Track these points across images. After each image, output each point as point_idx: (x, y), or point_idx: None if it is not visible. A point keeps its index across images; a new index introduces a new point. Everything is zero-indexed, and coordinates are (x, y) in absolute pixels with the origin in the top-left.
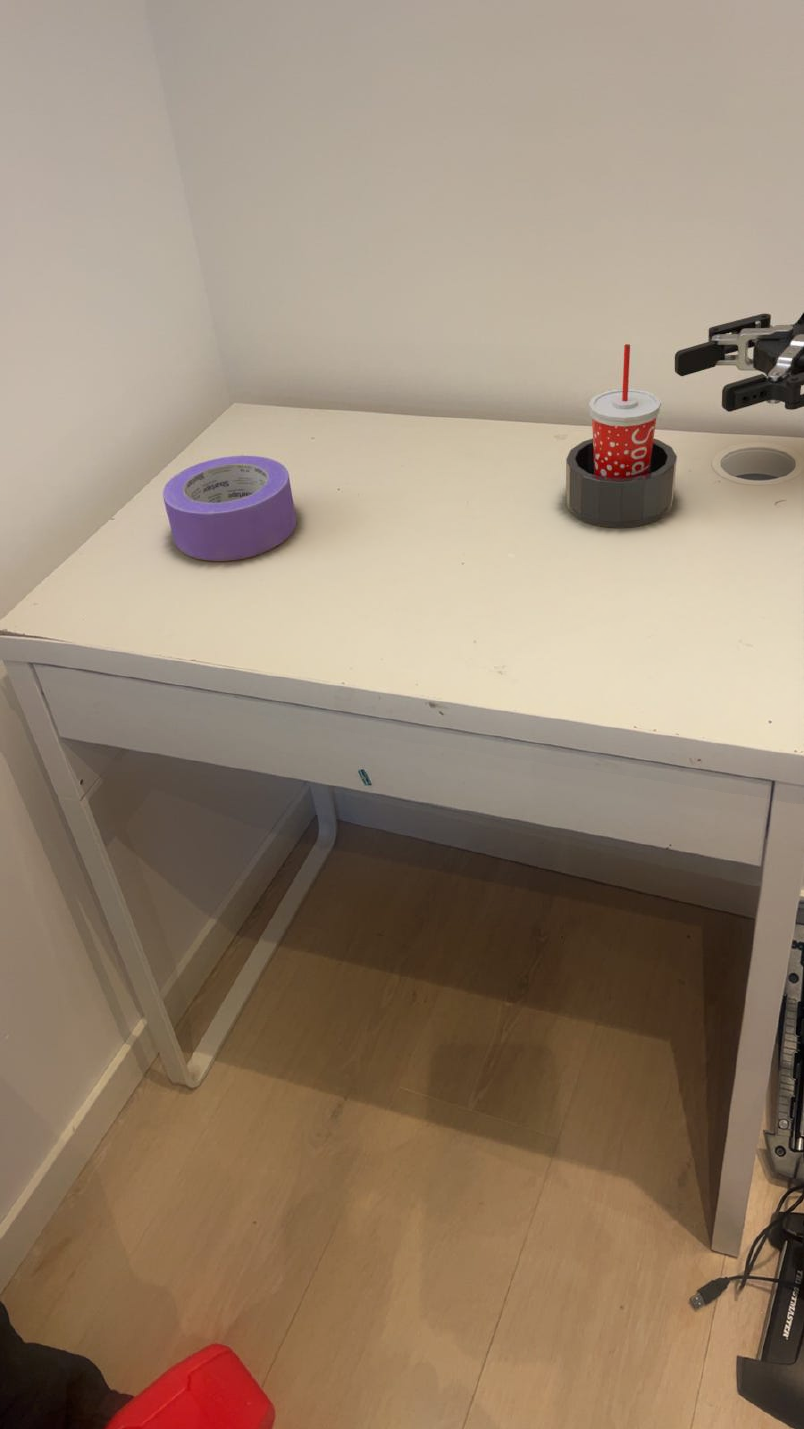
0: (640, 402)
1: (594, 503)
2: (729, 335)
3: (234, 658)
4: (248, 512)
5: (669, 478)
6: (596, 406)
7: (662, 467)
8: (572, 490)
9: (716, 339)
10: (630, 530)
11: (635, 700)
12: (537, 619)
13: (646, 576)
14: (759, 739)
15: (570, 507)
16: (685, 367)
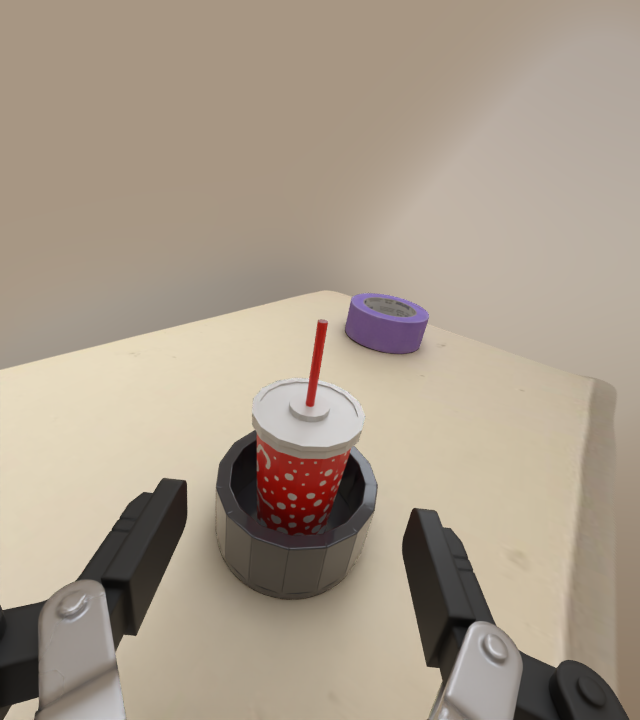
0: (300, 423)
1: None
2: (500, 699)
3: (253, 310)
4: (351, 306)
5: (222, 517)
6: (322, 387)
7: (232, 497)
8: None
9: (472, 627)
10: None
11: (15, 380)
12: (160, 383)
13: (129, 462)
14: None
15: None
16: (410, 550)
